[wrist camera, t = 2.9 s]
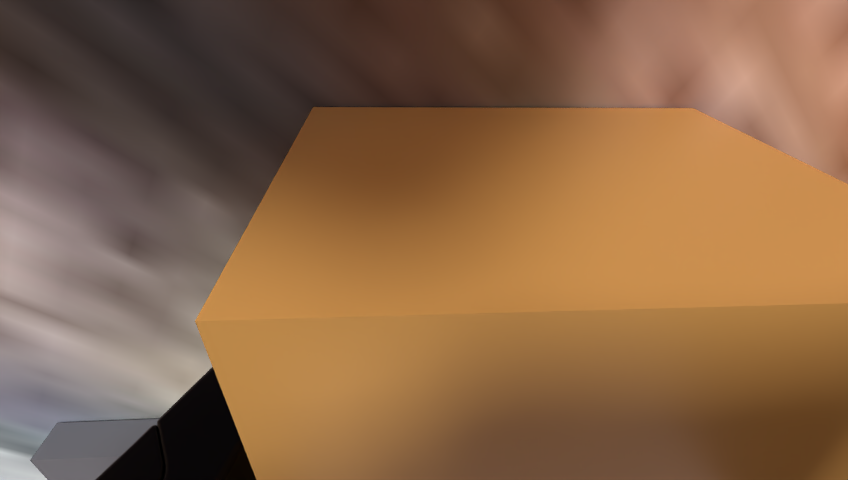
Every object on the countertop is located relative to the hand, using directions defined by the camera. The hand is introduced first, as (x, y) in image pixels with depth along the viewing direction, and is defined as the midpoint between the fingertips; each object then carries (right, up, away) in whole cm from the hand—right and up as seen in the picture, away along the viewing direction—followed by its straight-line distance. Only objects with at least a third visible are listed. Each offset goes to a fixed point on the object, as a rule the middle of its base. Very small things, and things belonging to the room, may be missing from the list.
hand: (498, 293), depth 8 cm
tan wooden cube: (0, +1, +1) cm, 1 cm away
